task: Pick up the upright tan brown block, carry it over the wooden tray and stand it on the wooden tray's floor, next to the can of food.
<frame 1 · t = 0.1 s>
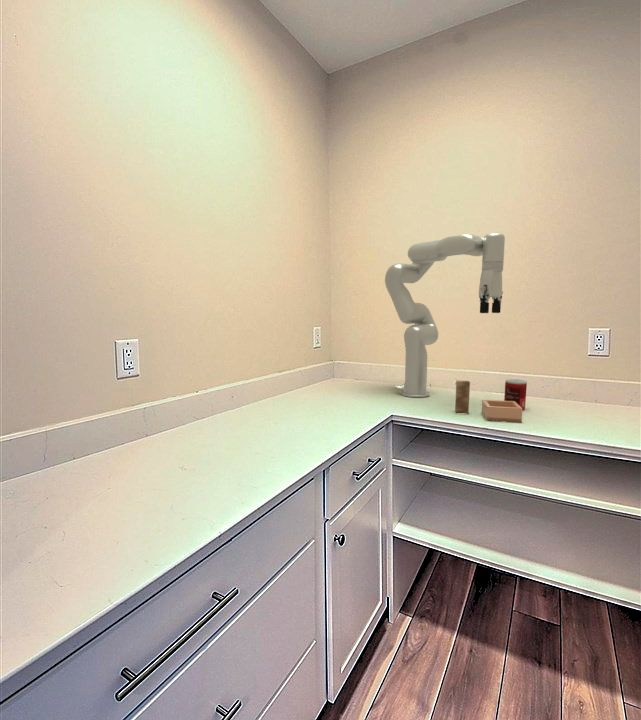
hand: (490, 313, 162), 37 cm above the worktop, tool pointing down, fingers open, 9 cm apart
wooden tray: (500, 417, 152), on the worktop
tan brown block: (461, 412, 159), on the worktop
canned food: (514, 408, 166), on the worktop
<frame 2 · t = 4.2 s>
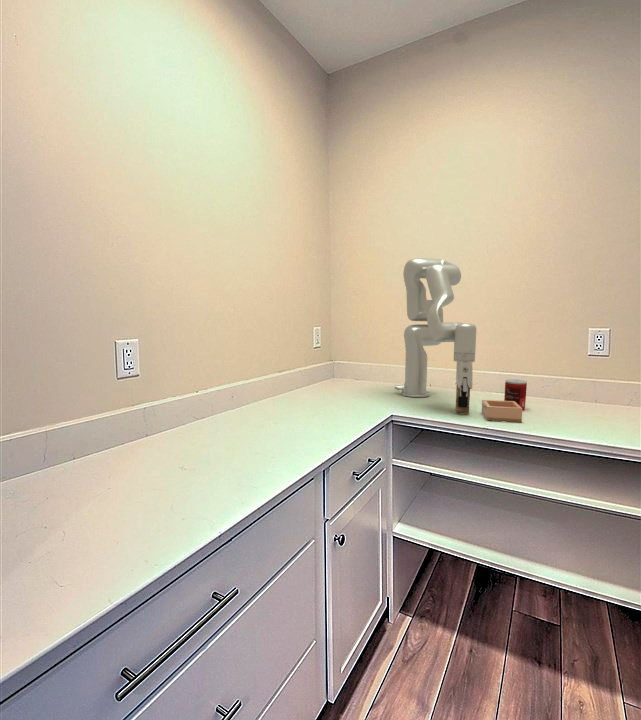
hand: (462, 405, 158), 3 cm above the worktop, tool pointing down, fingers closed on tan brown block, 3 cm apart
tan brown block: (461, 412, 159), on the worktop, touching gripper
everything else where it was.
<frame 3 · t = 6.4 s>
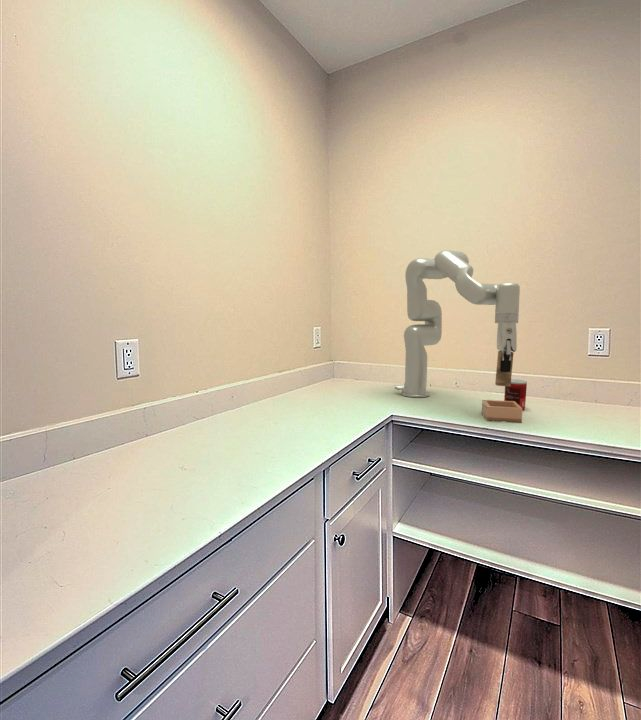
hand: (504, 370, 150), 17 cm above the worktop, tool pointing down, fingers closed on tan brown block, 2 cm apart
tan brown block: (502, 385, 150), point 12 cm above the worktop, touching gripper
everything else where it was.
when the fingers open (6 cm above the worktop, at t = 8.7 s): tan brown block stays where it is, resting on wooden tray.
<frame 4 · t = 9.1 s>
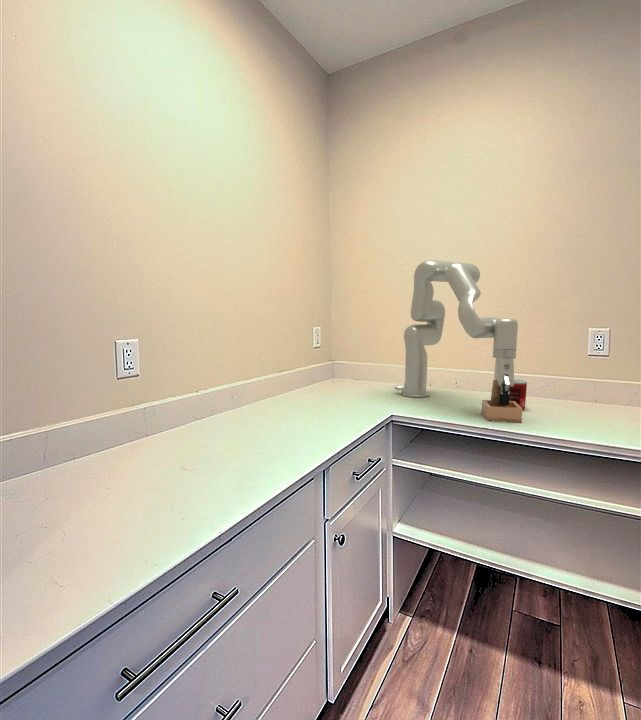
hand: (501, 402, 152), 6 cm above the worktop, tool pointing down, fingers open, 7 cm apart
tan brown block: (496, 413, 152), point 1 cm above the worktop, touching wooden tray
everything else where it was.
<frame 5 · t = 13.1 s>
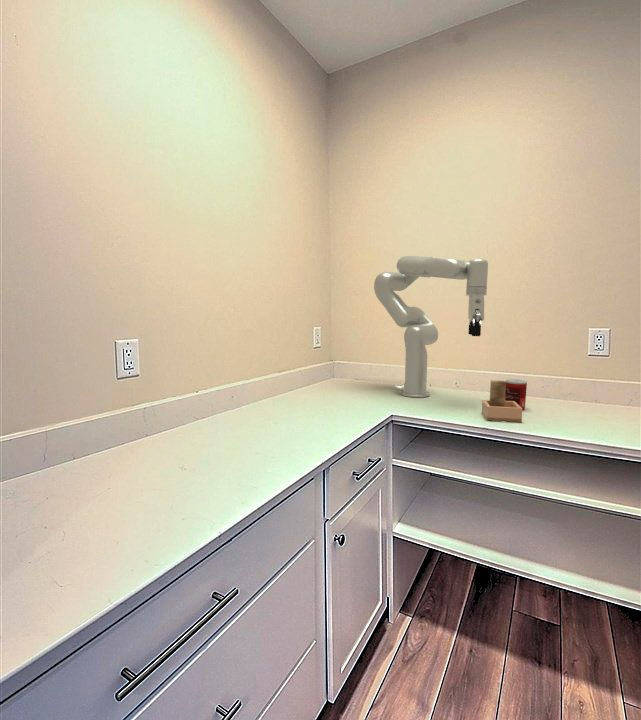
hand: (474, 335, 168), 28 cm above the worktop, tool pointing down, fingers open, 9 cm apart
nothing on the worktop moved.
at the end: tan brown block 1.5 cm off-centre on the wooden tray, point 1.2 cm above the wooden tray's base; tan brown block tilted 0°; the gripper is holding nothing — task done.
